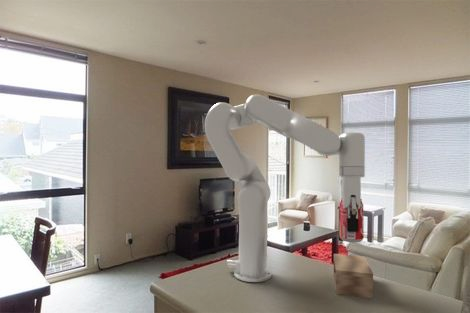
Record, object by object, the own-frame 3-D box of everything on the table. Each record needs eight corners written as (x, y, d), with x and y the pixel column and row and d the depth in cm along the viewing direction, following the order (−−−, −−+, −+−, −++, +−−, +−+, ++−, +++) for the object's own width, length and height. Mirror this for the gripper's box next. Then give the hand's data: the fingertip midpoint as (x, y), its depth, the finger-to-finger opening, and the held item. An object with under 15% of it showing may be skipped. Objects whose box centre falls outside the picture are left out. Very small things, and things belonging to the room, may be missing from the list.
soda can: (365, 244, 93) (366, 200, 93) (340, 242, 95) (341, 200, 95) (361, 237, 100) (361, 197, 100) (337, 236, 102) (338, 197, 102)
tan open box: (336, 293, 91) (336, 270, 91) (333, 273, 107) (333, 253, 107) (372, 298, 89) (373, 273, 89) (364, 277, 104) (364, 256, 104)
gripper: (337, 170, 107) (337, 222, 107) (340, 173, 90) (340, 234, 90) (361, 171, 105) (360, 223, 105) (368, 173, 88) (368, 236, 88)
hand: (351, 228), depth 97 cm, fingers closed on soda can, 6 cm apart
